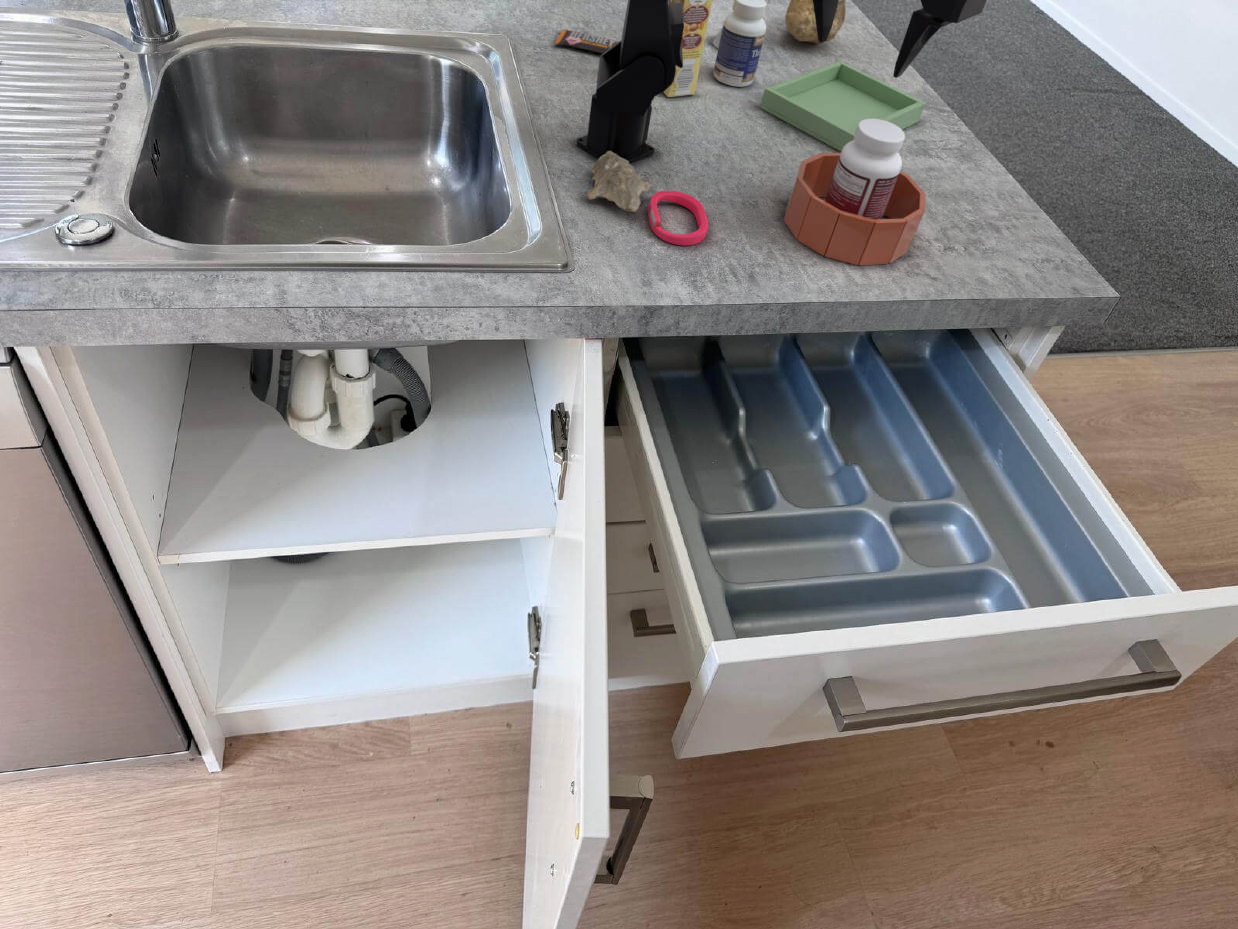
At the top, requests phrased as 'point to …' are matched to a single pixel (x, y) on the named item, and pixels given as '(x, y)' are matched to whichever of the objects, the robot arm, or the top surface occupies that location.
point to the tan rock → (810, 20)
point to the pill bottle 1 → (741, 43)
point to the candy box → (690, 46)
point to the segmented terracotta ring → (851, 217)
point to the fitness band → (688, 203)
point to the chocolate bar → (585, 41)
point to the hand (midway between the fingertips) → (858, 58)
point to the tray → (839, 103)
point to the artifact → (617, 182)
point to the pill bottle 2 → (867, 169)
